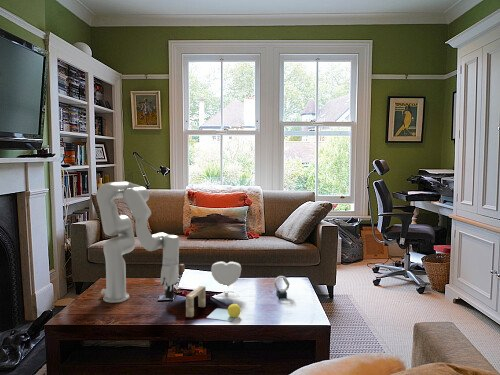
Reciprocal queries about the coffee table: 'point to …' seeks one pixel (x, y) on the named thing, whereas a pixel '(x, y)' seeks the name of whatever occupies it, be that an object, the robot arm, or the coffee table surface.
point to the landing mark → (220, 315)
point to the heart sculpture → (226, 275)
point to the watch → (281, 293)
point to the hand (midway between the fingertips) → (169, 297)
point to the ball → (234, 310)
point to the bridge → (190, 300)
